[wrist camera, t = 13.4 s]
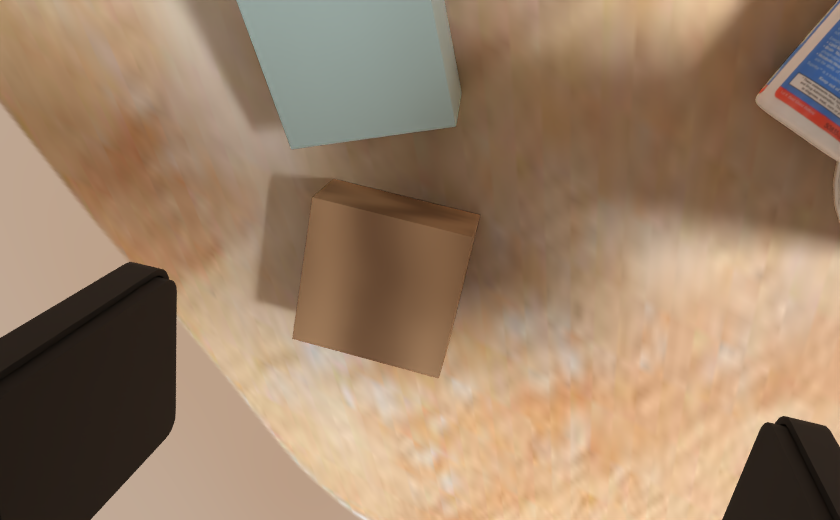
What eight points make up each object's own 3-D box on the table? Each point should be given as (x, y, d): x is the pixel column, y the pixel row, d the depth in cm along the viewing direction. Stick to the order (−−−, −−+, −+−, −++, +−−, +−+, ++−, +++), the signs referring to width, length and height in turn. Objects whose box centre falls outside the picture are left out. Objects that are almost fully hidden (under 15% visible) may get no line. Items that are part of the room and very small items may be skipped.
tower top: (428, -83, 32) (418, -62, 29) (461, 92, 38) (456, 126, 34) (254, -47, 34) (227, -23, 31) (309, 115, 40) (291, 149, 36)
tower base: (480, 214, 40) (473, 237, 36) (448, 345, 43) (438, 378, 40) (333, 178, 41) (312, 197, 37) (314, 310, 44) (292, 338, 40)
